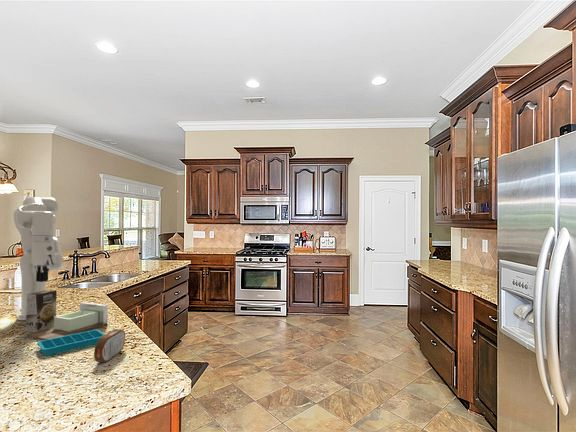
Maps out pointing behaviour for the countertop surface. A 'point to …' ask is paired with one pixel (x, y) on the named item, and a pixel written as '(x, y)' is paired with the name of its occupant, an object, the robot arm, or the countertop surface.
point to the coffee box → (40, 310)
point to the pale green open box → (75, 320)
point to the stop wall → (98, 308)
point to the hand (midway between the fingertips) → (42, 280)
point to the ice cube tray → (70, 342)
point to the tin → (109, 345)
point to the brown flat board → (61, 332)
